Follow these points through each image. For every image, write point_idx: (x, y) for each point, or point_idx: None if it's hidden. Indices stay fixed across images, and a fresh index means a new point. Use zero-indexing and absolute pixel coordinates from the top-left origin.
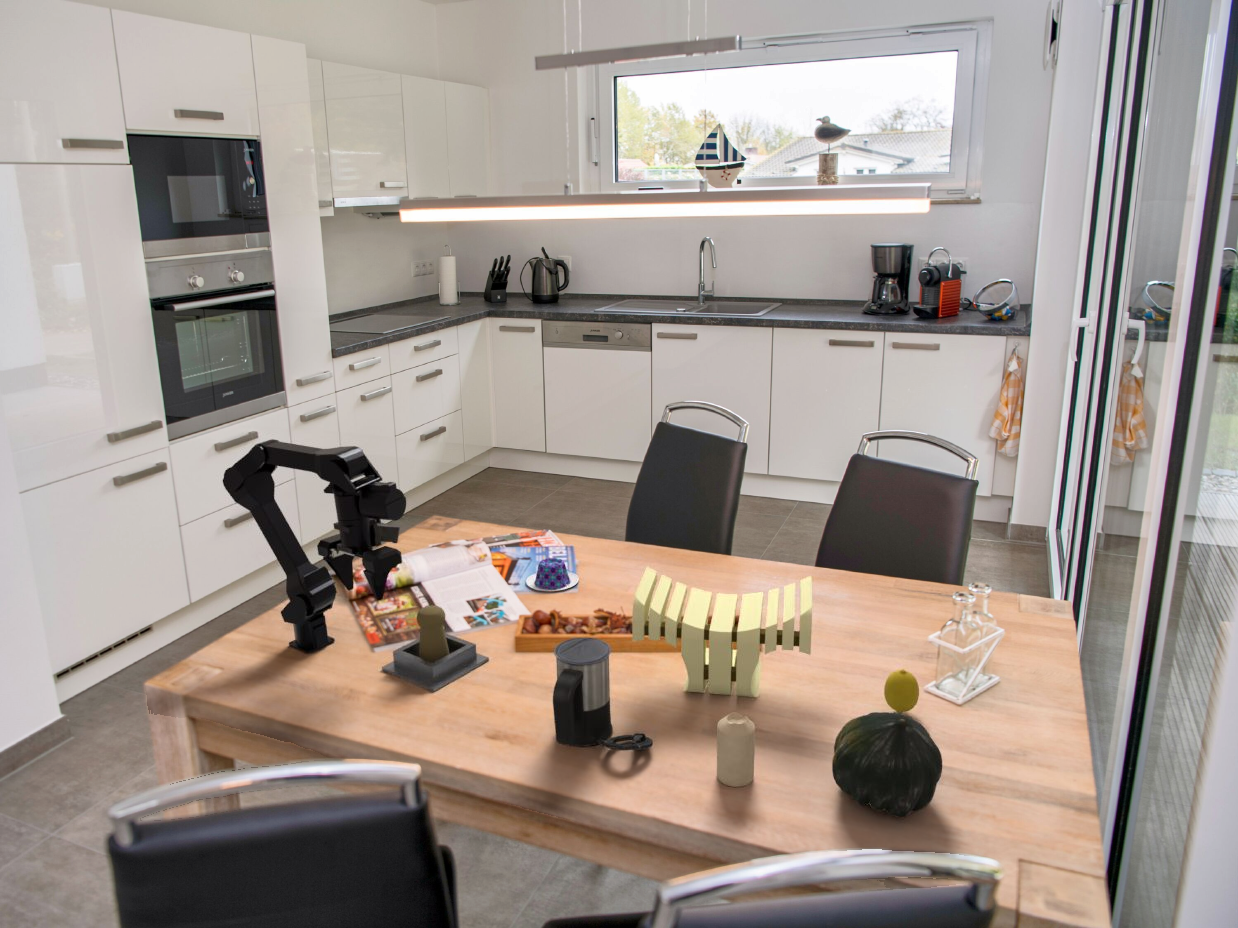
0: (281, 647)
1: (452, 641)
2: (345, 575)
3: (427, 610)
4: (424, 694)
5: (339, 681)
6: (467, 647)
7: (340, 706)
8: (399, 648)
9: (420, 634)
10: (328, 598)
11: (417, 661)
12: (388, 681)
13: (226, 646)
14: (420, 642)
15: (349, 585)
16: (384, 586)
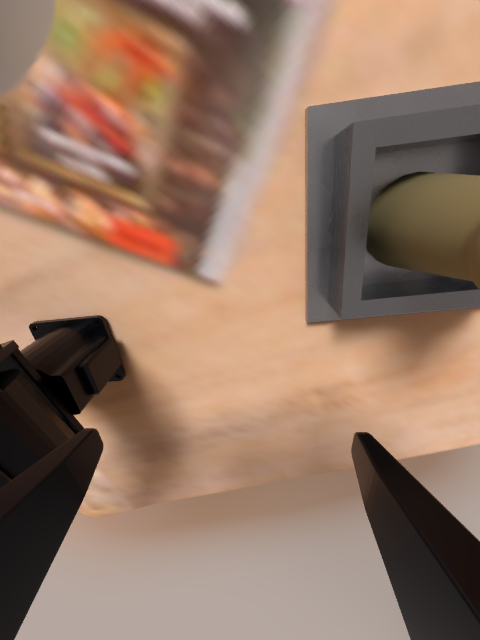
0: None
1: (463, 136)
2: (32, 553)
3: None
4: (467, 320)
5: (273, 389)
6: None
7: (346, 424)
8: (345, 298)
9: (453, 276)
10: (35, 421)
11: (445, 308)
12: (356, 336)
13: None
14: (435, 273)
15: (85, 466)
16: (446, 517)
